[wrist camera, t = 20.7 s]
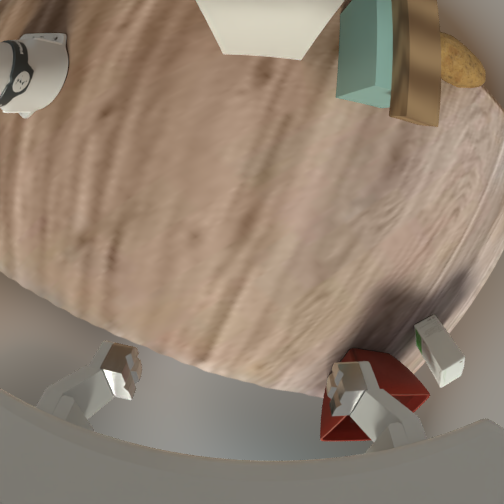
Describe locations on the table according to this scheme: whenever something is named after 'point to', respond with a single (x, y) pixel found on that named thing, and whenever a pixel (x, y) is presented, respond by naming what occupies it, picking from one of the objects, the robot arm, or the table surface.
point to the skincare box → (439, 350)
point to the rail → (416, 62)
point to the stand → (267, 25)
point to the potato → (459, 64)
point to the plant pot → (388, 378)
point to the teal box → (366, 53)
